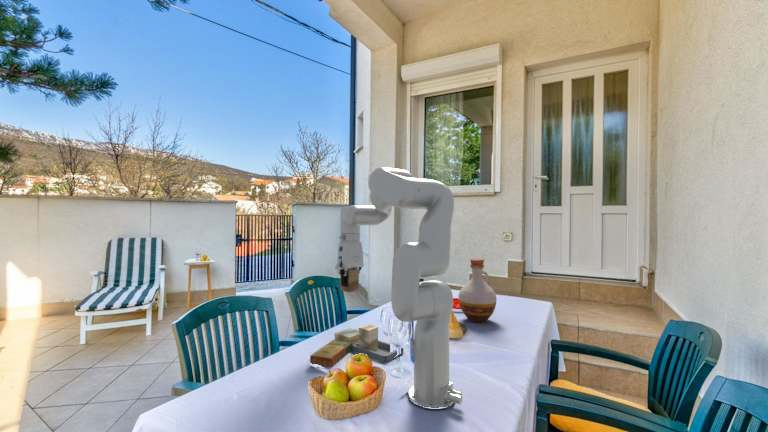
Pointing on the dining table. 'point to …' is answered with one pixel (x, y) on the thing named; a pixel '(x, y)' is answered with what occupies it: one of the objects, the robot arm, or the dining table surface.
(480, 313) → the jug
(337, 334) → the stand
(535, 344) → the dining table surface
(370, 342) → the beech block
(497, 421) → the dining table surface
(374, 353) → the tray
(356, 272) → the walnut block
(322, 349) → the reddish brown flat block
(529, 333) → the dining table surface
